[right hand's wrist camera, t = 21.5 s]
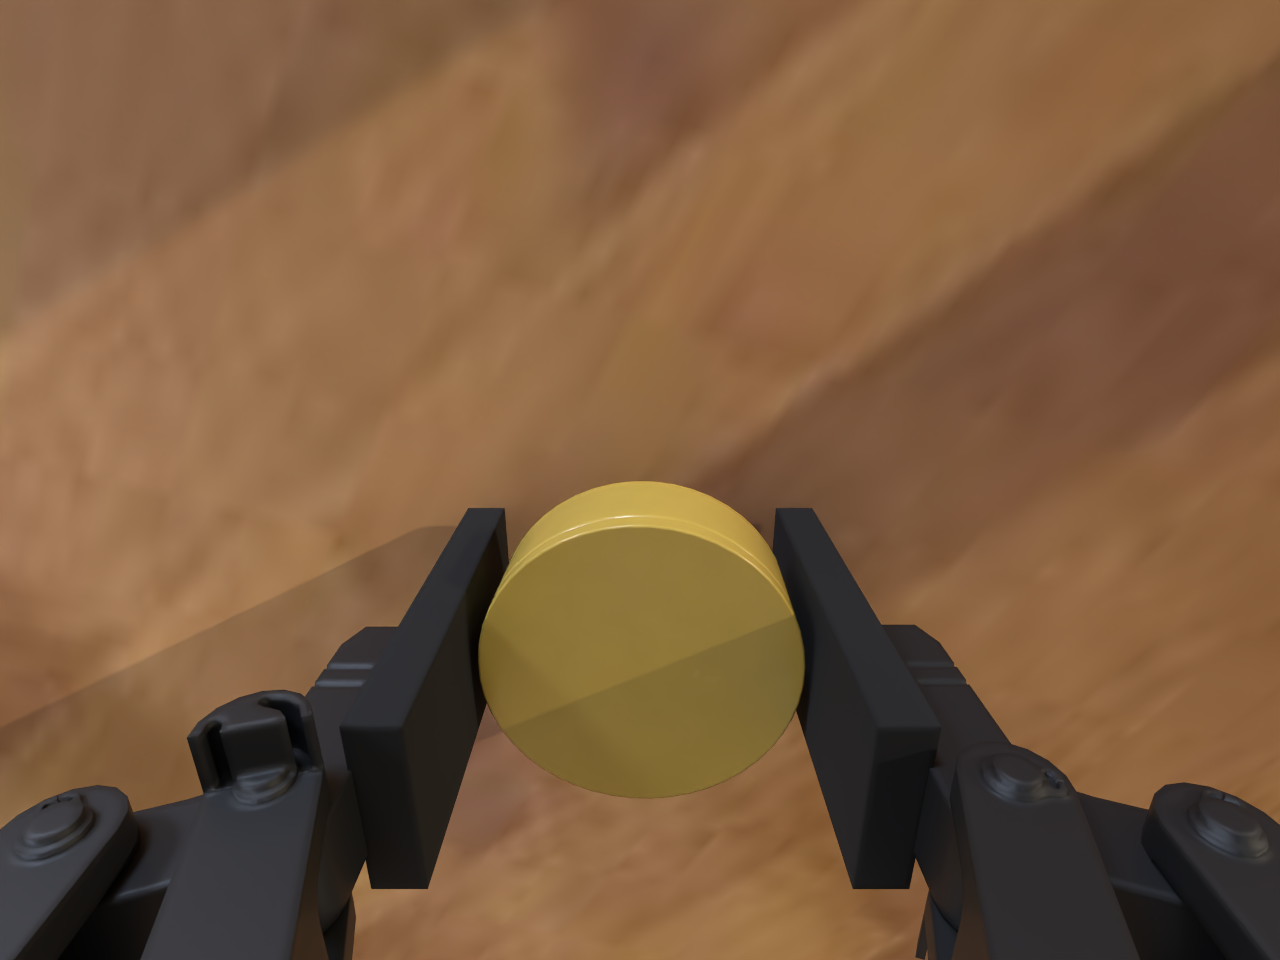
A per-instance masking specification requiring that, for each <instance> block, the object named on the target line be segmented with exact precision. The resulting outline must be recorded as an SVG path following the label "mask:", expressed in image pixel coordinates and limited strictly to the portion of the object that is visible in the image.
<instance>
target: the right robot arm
mask: <svg viewBox="0 0 1280 960" xmlns="http://www.w3.org/2000/svg"><path fill="white" fill-rule="evenodd" d="M773 554H774V556H775V558H776V560H777V562H778V565H779V567H780V570H781V572H782V575H783V578H784V581H785V584H786V587H787V590H788V593H789V597H790V600H791V603H792V606H793V609H794V612H795V615H796V618H797V621H798V624H799V627H800V630H801V635H802V639H803V644H804V648H805V664H806V668H805V678H804V686H803V690H802V694H801V698H800V701H799V704H798V706H797V709H796V711H797V714H798V718H799V721H800V724H801V727H802V730H803V733H804V736H805V740H806V743H807V746H808V749H809V752H810V755H811V758H812V762H813V765H814V768H815V771H816V774H817V777H818V780H819V784H820V787H821V790H822V793H823V796H824V799H825V803H826V806H827V809H828V812H829V815H830V818H831V821H832V825H833V828H834V831H835V834H836V837H837V840H838V843H839V847H840V850H841V853H842V856H843V859H844V862H845V865H846V869H847V872H848V875H849V878H850V881H851V884H852V887H853V889H909V888H910V883H911V878H912V873H913V868H914V863H915V858H916V859H917V862H918V864H919V866H920V869H921V871H922V873H923V876H924V878H925V880H926V883H927V885H928V887H929V892H928V897H927V901H926V906H925V911H924V915H923V920H922V924H921V929H920V934H919V938H918V944H917V950H916V958H920V959H923V960H925V956H926V951H927V952H928V960H1280V825H1279V824H1278V823H1277V822H1275V821H1274V820H1273V819H1272V818H1270V817H1269V816H1268V815H1267V814H1266V813H1264V812H1263V811H1261V810H1259V809H1257V808H1256V807H1254V806H1252V805H1250V804H1248V803H1247V802H1245V801H1243V800H1241V799H1240V798H1238V797H1236V796H1233V795H1230V794H1228V793H1225V792H1222V791H1219V790H1217V789H1214V788H1211V787H1208V786H1202V785H1196V784H1190V783H1176V784H1169V785H1165V786H1163V787H1162V788H1161V789H1160V790H1158V791H1157V792H1156V793H1155V794H1154V797H1153V799H1152V802H1151V805H1150V808H1149V810H1147V809H1143V808H1138V807H1134V806H1130V805H1126V804H1121V803H1117V802H1113V801H1109V800H1105V799H1100V798H1096V797H1092V796H1089V795H1086V794H1083V793H1079V792H1076V791H1075V789H1074V787H1073V786H1072V784H1071V783H1070V781H1069V780H1068V778H1067V776H1066V775H1065V774H1064V773H1062V772H1061V771H1060V770H1059V769H1058V768H1057V767H1055V766H1054V765H1053V764H1052V763H1051V762H1050V761H1048V760H1046V759H1045V758H1043V757H1041V756H1039V755H1037V754H1035V753H1033V752H1032V751H1030V750H1028V749H1025V748H1022V747H1019V746H1015V745H1012V744H1011V743H1010V742H1009V740H1008V739H1007V737H1006V736H1005V735H1004V733H1003V732H1002V730H1001V729H1000V728H999V726H998V725H997V723H996V722H995V720H994V719H993V718H992V716H991V715H990V713H989V712H988V711H987V709H986V708H985V706H984V705H983V703H982V702H981V701H980V699H979V698H978V696H977V695H976V694H975V692H974V691H973V689H972V688H971V686H970V685H967V684H966V679H965V678H964V677H963V675H962V674H961V672H960V671H959V669H958V668H957V667H954V662H953V661H952V660H951V658H950V657H949V655H948V654H947V652H946V651H945V650H944V648H943V647H942V645H941V644H940V643H939V642H938V641H937V640H935V639H934V638H933V637H931V636H930V635H928V634H927V633H926V632H924V631H923V630H921V629H920V628H919V627H917V626H916V625H881V624H880V622H879V620H878V619H877V617H876V615H875V613H874V612H873V610H872V608H871V607H870V605H869V603H868V602H867V600H866V598H865V597H864V595H863V593H862V592H861V590H860V588H859V586H858V585H857V583H856V581H855V580H854V578H853V576H852V575H851V573H850V571H849V570H848V568H847V566H846V565H845V563H844V561H843V560H842V558H841V556H840V554H839V553H838V551H837V549H836V548H835V546H834V544H833V543H832V541H831V539H830V538H829V536H828V534H827V533H826V531H825V529H824V528H823V526H822V524H821V522H820V521H819V519H818V517H817V516H816V514H815V512H814V511H813V509H812V508H776V516H775V528H774V541H773ZM508 565H509V559H508V547H507V534H506V521H505V509H504V508H468V510H467V512H466V513H465V515H464V517H463V518H462V520H461V522H460V523H459V525H458V527H457V528H456V530H455V532H454V534H453V535H452V537H451V539H450V540H449V542H448V544H447V545H446V547H445V549H444V550H443V552H442V554H441V555H440V557H439V559H438V561H437V562H436V564H435V566H434V567H433V569H432V571H431V572H430V574H429V576H428V577H427V579H426V581H425V582H424V584H423V586H422V588H421V589H420V591H419V593H418V594H417V596H416V598H415V599H414V601H413V603H412V604H411V606H410V608H409V609H408V611H407V613H406V615H405V616H404V618H403V620H402V621H401V623H400V625H399V626H398V627H365V628H364V629H362V630H361V631H360V632H358V633H357V634H356V635H354V636H353V637H351V638H350V639H349V640H347V641H346V642H344V643H343V644H342V645H341V646H340V648H339V649H338V650H337V652H336V653H335V655H334V656H333V658H332V659H331V660H330V662H329V663H328V665H327V669H324V670H323V672H322V673H321V675H320V676H319V678H318V679H317V680H316V682H315V687H312V688H311V689H310V690H309V692H308V693H307V695H306V696H305V697H304V696H303V695H302V694H300V693H296V692H291V691H287V690H272V691H261V692H257V693H254V694H250V695H246V696H243V697H239V698H237V699H235V700H233V701H231V702H229V703H227V704H225V705H222V706H220V707H218V708H216V709H215V710H214V711H213V712H211V713H210V714H209V715H207V716H206V717H205V718H203V719H202V720H201V721H199V722H198V723H197V725H196V726H195V727H194V729H193V730H192V732H191V733H190V734H189V736H188V737H187V740H188V743H189V746H190V750H191V753H192V756H193V760H194V763H195V766H196V769H197V773H198V776H199V779H200V783H201V786H202V789H203V792H204V793H203V795H201V796H197V797H194V798H191V799H188V800H183V801H179V802H175V803H171V804H167V805H162V806H158V807H154V808H150V809H145V810H141V811H137V812H133V811H132V808H131V805H130V802H129V800H128V797H127V796H126V795H125V794H124V793H123V792H121V791H120V790H119V789H118V788H116V787H108V786H100V785H96V786H90V787H84V788H78V789H72V790H70V791H67V792H64V793H62V794H59V795H56V796H54V797H51V798H48V799H46V800H44V801H42V802H40V803H38V804H37V805H35V806H33V807H31V808H30V809H28V810H26V811H24V812H23V813H21V814H19V815H18V816H16V817H15V818H14V819H13V820H11V821H10V822H9V823H8V824H7V825H5V826H4V827H3V828H2V829H0V960H352V953H353V943H354V932H355V922H356V915H355V908H354V901H353V897H352V890H353V888H354V885H355V883H356V881H357V878H358V876H359V874H360V871H361V869H362V867H363V864H364V862H365V860H366V864H367V869H368V874H369V879H370V884H371V889H428V886H429V883H430V880H431V877H432V874H433V871H434V867H435V864H436V861H437V858H438V855H439V852H440V848H441V845H442V842H443V839H444V836H445V833H446V830H447V826H448V823H449V820H450V817H451V814H452V811H453V808H454V804H455V801H456V798H457V795H458V792H459V789H460V785H461V782H462V779H463V776H464V773H465V770H466V767H467V763H468V760H469V757H470V754H471V751H472V748H473V745H474V741H475V738H476V735H477V732H478V729H479V726H480V723H481V719H482V716H483V713H484V710H485V707H486V704H487V702H486V699H485V697H484V693H483V689H482V686H481V682H480V677H479V668H478V644H479V639H480V634H481V629H482V625H483V622H484V619H485V617H486V614H487V611H488V609H489V607H490V604H491V602H492V600H493V598H494V596H495V593H496V591H497V589H498V587H499V585H500V582H501V580H502V578H503V576H504V573H505V571H506V569H507V567H508Z"/></svg>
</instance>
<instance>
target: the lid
mask: <svg viewBox="0 0 1280 960" xmlns="http://www.w3.org/2000/svg"><path fill="white" fill-rule="evenodd" d="M478 668H479V677H480V682H481V686H482V689H483V693H484V697H485V699H486V702H487V704H488V706H489V708H490V711H491V713H492V715H493V717H494V718H495V720H496V721H497V723H498V725H499V726H500V728H501V729H502V731H503V732H504V733H505V734H506V736H507V737H508V738H509V739H510V741H511V742H512V743H513V744H514V745H515V746H516V747H517V748H518V749H519V750H520V751H521V752H522V753H523V754H524V755H525V756H527V757H528V758H529V759H530V760H532V761H533V762H534V763H536V764H537V765H538V766H540V767H541V768H543V769H544V770H546V771H548V772H549V773H551V774H553V775H555V776H556V777H558V778H560V779H562V780H565V781H567V782H569V783H571V784H573V785H576V786H579V787H582V788H585V789H588V790H591V791H594V792H599V793H603V794H607V795H612V796H620V797H628V798H663V797H673V796H678V795H684V794H689V793H693V792H696V791H700V790H703V789H707V788H710V787H712V786H714V785H717V784H719V783H722V782H724V781H726V780H728V779H730V778H732V777H734V776H736V775H737V774H739V773H741V772H743V771H744V770H745V769H747V768H748V767H750V766H751V765H752V764H754V763H755V762H757V761H758V760H759V759H760V758H761V757H762V756H763V755H764V754H765V753H767V752H768V751H769V750H770V749H771V748H772V747H773V745H774V744H775V743H776V742H777V741H778V739H779V738H780V737H781V736H782V734H783V733H784V731H785V730H786V728H787V726H788V725H789V723H790V722H791V720H792V718H793V716H794V713H795V711H796V709H797V706H798V704H799V701H800V698H801V694H802V690H803V686H804V678H805V668H806V664H805V648H804V644H803V639H802V635H801V630H800V627H799V624H798V621H797V618H796V615H795V612H794V609H793V606H792V603H791V600H790V597H789V593H788V590H787V587H786V584H785V581H784V578H783V575H782V572H781V570H780V567H779V565H778V562H777V560H776V558H775V556H774V554H773V553H772V551H771V549H770V547H769V546H768V544H767V543H766V541H765V540H764V539H763V537H762V536H761V535H760V534H759V532H758V531H757V530H756V529H755V528H754V527H753V526H752V525H751V524H750V523H749V522H748V521H747V520H746V519H745V518H744V517H743V516H741V515H740V514H739V513H737V512H736V511H734V510H733V509H732V508H730V507H729V506H728V505H726V504H724V503H722V502H720V501H718V500H717V499H715V498H713V497H711V496H709V495H706V494H704V493H701V492H699V491H696V490H694V489H690V488H686V487H683V486H679V485H675V484H669V483H661V482H653V481H631V482H623V483H614V484H609V485H605V486H601V487H597V488H593V489H591V490H588V491H586V492H583V493H580V494H578V495H575V496H573V497H572V498H570V499H568V500H566V501H564V502H562V503H561V504H559V505H557V506H556V507H555V508H553V509H552V510H551V511H549V512H548V513H546V514H545V515H544V516H543V517H542V518H541V519H540V520H539V521H538V522H537V523H536V524H535V525H534V526H532V527H531V529H530V530H529V531H528V533H527V534H526V535H525V536H524V538H523V539H522V540H521V542H520V543H519V545H518V547H517V549H516V551H515V552H514V554H513V556H512V558H511V560H510V562H509V565H508V567H507V569H506V571H505V573H504V576H503V578H502V580H501V582H500V585H499V587H498V589H497V591H496V593H495V596H494V598H493V600H492V602H491V604H490V607H489V609H488V611H487V614H486V617H485V619H484V622H483V625H482V629H481V634H480V639H479V644H478Z"/></svg>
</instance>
